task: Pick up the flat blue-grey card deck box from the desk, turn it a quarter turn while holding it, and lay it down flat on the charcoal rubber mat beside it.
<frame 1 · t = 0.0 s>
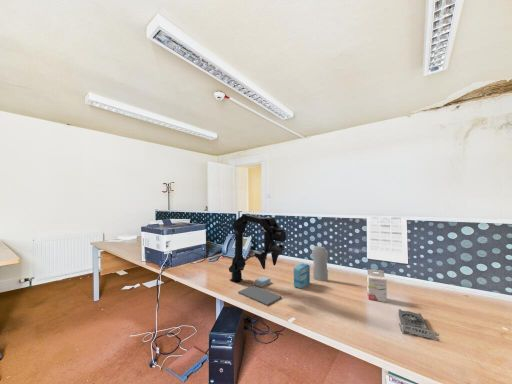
hand: (269, 267, 125), 15 cm above the table, tool pointing down, fingers open, 9 cm apart
mat: (259, 295, 122), on the table
tall pale column: (320, 280, 144), on the table
data package: (302, 285, 135), on the table
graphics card: (415, 328, 92), on the table
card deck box: (262, 283, 139), on the table
ink cartridge box: (376, 299, 116), on the table
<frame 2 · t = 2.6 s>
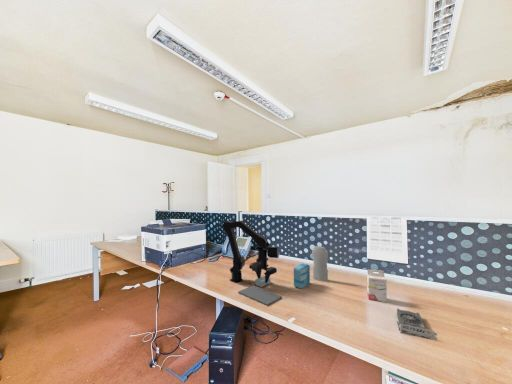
hand: (262, 281, 139), 1 cm above the table, tool pointing down, fingers closed on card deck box, 5 cm apart
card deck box: (262, 283, 139), on the table, touching gripper
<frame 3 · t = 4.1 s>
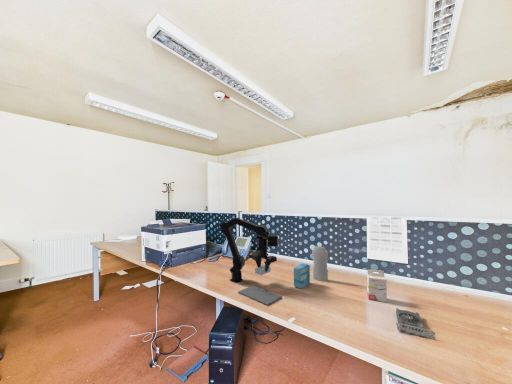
hand: (262, 270, 139), 8 cm above the table, tool pointing down, fingers closed on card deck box, 5 cm apart
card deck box: (262, 272, 139), point 7 cm above the table, touching gripper
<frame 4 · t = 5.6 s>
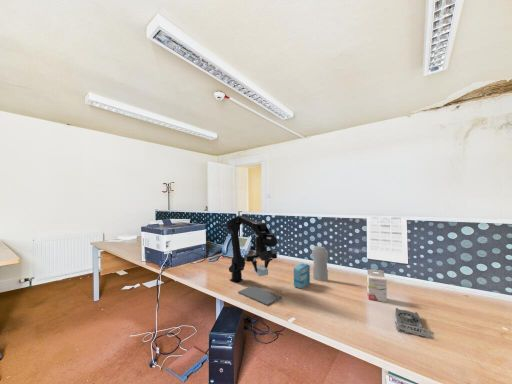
hand: (260, 271, 128), 11 cm above the table, tool pointing down, fingers closed on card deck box, 5 cm apart
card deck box: (261, 273, 128), point 10 cm above the table, touching gripper
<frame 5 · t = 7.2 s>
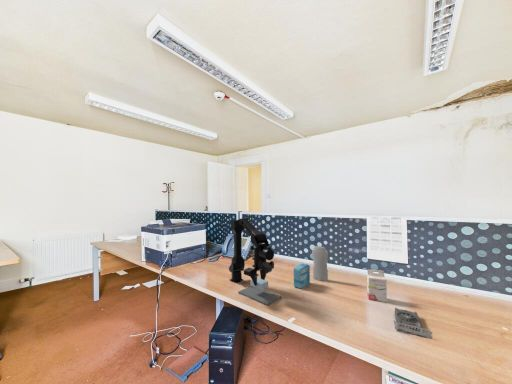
hand: (259, 284, 122), 6 cm above the table, tool pointing down, fingers closed on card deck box, 5 cm apart
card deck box: (259, 286, 122), point 5 cm above the table, touching gripper
when the fingers open (3 cm above the table, at t = 8.6 s): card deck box drops 1 cm, resting on mat.
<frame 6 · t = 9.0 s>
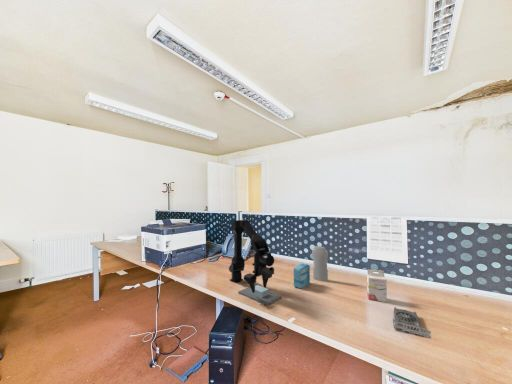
hand: (259, 289, 122), 3 cm above the table, tool pointing down, fingers open, 9 cm apart
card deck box: (259, 293, 122), point 1 cm above the table, touching mat
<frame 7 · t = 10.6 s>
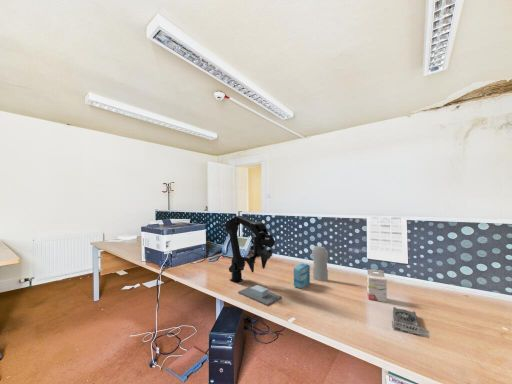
hand: (258, 270, 130), 11 cm above the table, tool pointing down, fingers open, 9 cm apart
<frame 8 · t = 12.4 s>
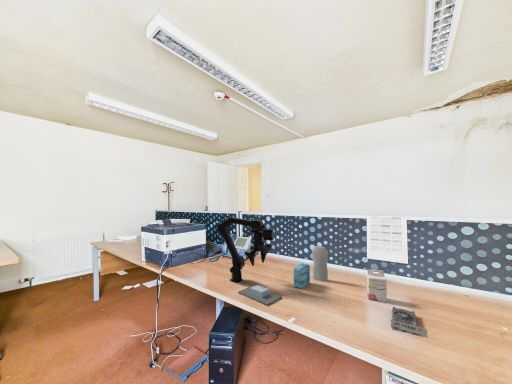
hand: (258, 264, 139), 12 cm above the table, tool pointing down, fingers open, 9 cm apart
at the end: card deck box inside the target area on the mat (0.0 cm from its centre), point 0.8 cm above the mat's base; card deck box touching mat; the gripper is holding nothing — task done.
